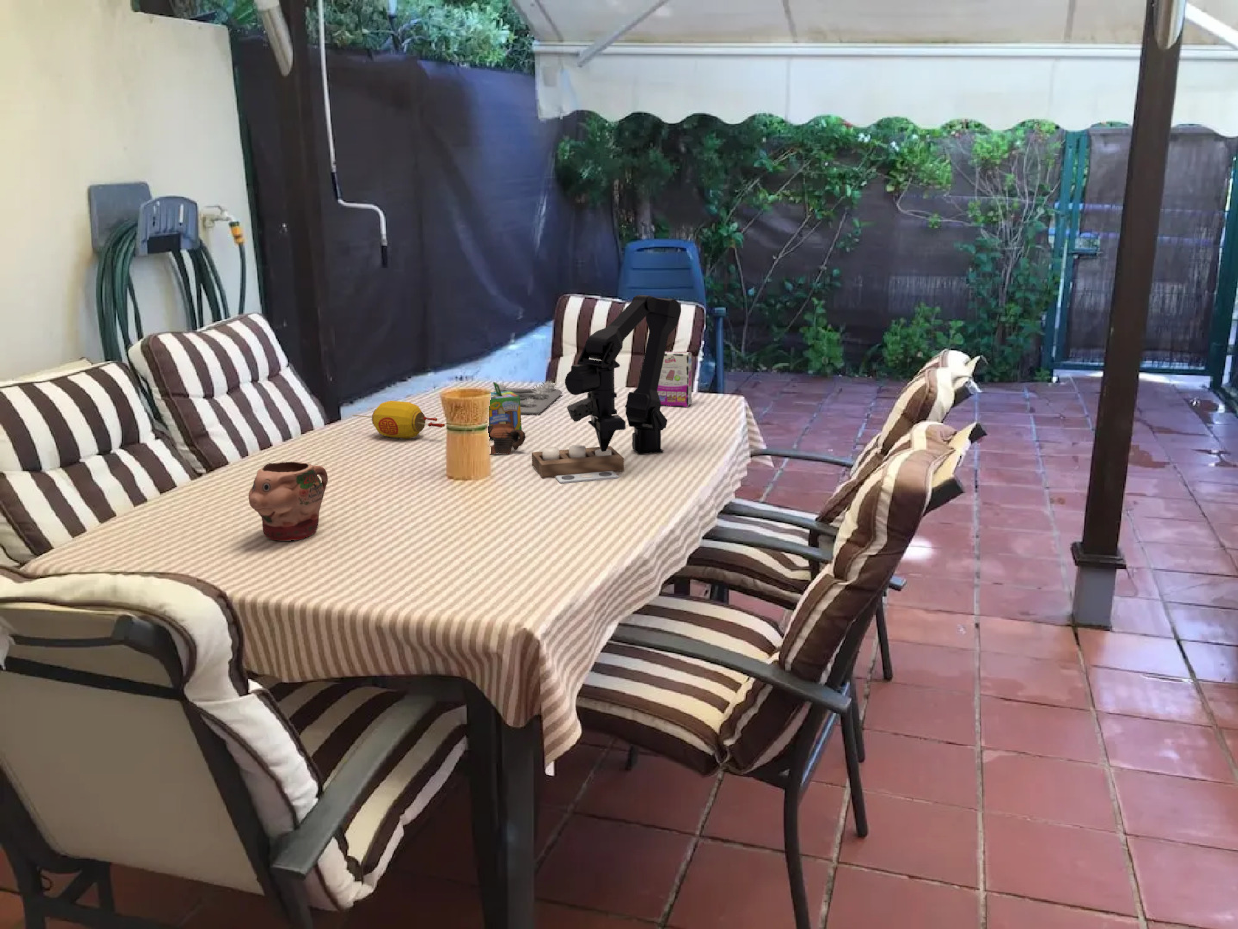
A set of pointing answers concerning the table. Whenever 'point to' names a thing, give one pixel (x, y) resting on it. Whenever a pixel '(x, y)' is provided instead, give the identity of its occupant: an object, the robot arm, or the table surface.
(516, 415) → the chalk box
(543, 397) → the decorative plate
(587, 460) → the button board
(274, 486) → the pink animal face cup
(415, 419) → the lantern
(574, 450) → the button middle
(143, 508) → the table surface
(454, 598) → the table surface
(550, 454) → the button
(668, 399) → the candy bar box
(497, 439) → the pottery mug
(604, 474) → the card
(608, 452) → the button
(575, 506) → the table surface
